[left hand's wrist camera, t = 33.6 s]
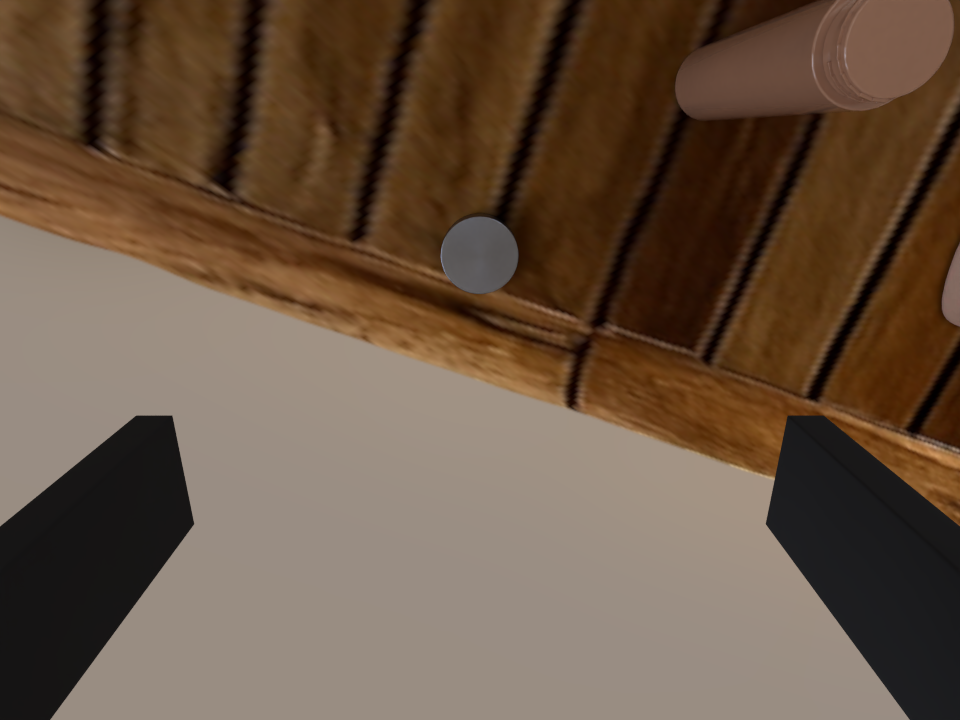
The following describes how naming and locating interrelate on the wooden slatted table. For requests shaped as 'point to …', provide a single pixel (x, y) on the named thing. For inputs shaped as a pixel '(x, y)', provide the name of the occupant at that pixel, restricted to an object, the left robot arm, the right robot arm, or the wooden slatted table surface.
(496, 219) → the lid
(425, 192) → the wooden slatted table surface
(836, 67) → the pinkish brown cylinder
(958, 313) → the anatomical model
